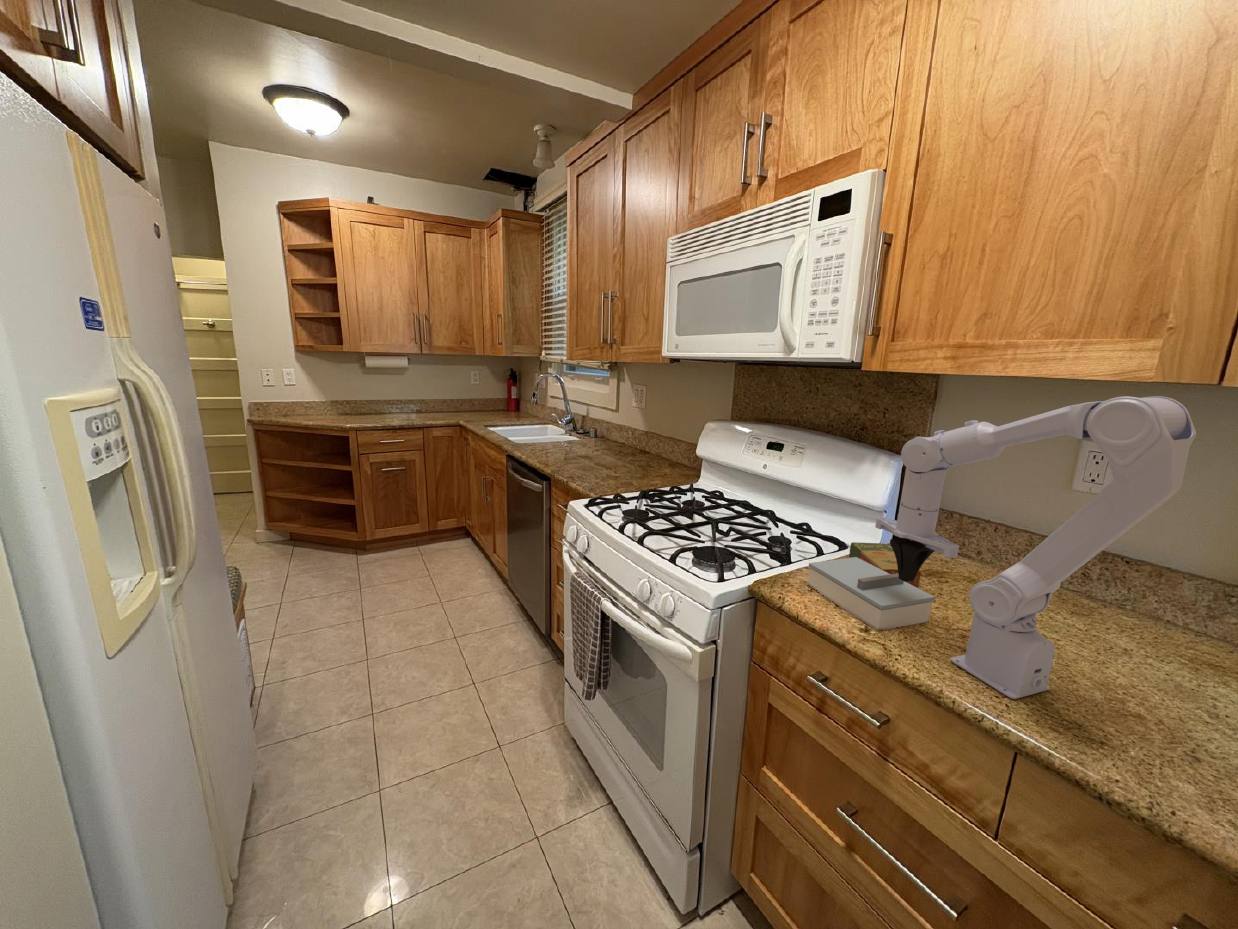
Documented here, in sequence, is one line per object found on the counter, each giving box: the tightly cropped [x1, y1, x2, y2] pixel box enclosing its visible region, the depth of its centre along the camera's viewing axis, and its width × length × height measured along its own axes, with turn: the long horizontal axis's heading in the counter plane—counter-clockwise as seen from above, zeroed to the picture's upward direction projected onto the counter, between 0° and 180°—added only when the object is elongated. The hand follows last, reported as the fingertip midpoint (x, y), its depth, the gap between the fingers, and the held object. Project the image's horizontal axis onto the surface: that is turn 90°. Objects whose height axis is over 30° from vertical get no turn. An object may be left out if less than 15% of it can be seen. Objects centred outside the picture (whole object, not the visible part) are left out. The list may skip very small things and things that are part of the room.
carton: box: [848, 541, 922, 588], centre depth 110 cm, size 8×16×4 cm, turn 177°
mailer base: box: [807, 567, 933, 632], centre depth 94 cm, size 18×12×4 cm, turn 19°
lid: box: [808, 557, 936, 610], centre depth 94 cm, size 18×12×2 cm
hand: (906, 579), depth 86 cm, fingers closed
